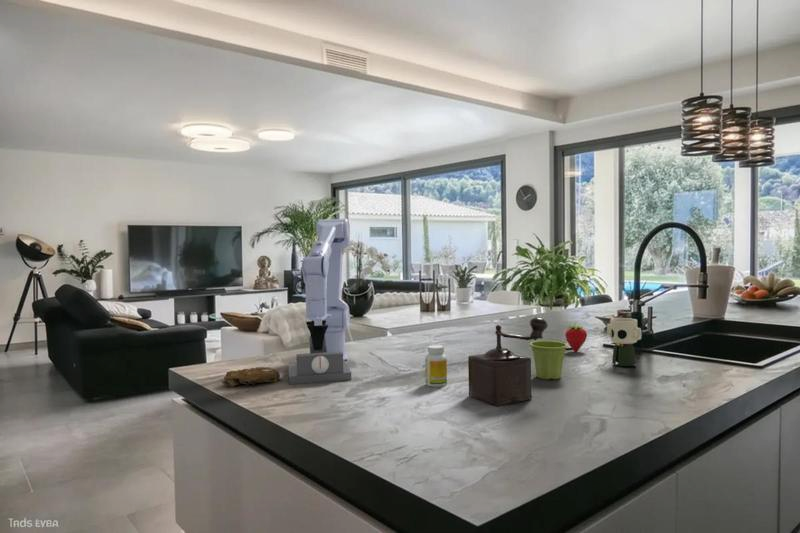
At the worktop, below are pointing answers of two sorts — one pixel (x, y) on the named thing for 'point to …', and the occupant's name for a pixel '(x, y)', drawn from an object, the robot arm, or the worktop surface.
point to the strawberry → (576, 337)
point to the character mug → (623, 340)
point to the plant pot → (548, 358)
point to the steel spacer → (313, 347)
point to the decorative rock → (251, 376)
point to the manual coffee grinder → (503, 371)
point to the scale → (318, 368)
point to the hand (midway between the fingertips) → (317, 348)
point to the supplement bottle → (436, 366)
